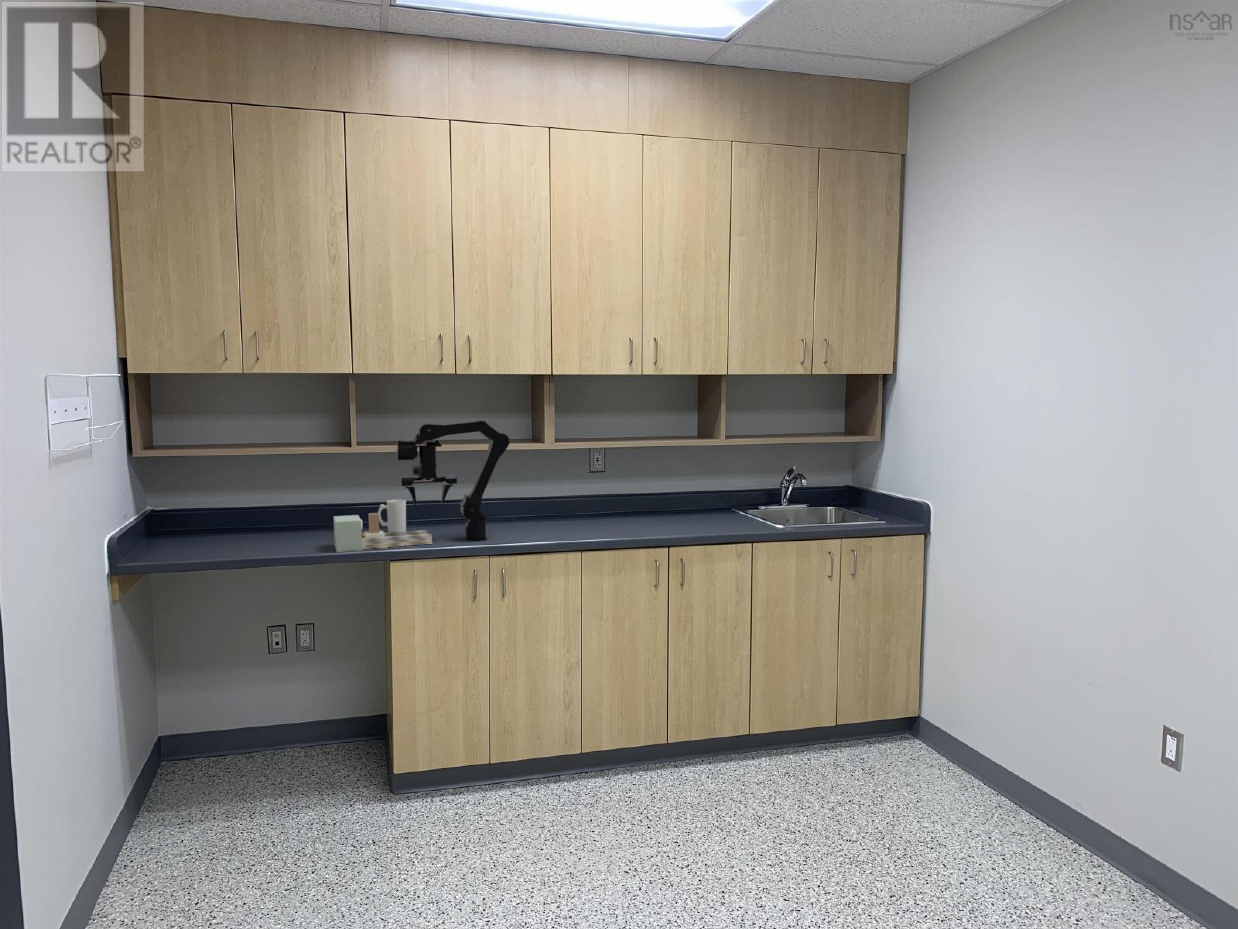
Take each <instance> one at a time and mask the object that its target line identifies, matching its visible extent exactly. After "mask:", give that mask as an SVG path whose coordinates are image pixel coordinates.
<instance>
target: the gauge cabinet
mask: <svg viewBox="0 0 1238 929" xmlns="http://www.w3.org/2000/svg"><path fill="white" fill-rule="evenodd" d="M362 531H363V519H361V518H360V515H359V514H352V515H337V516H336V515H335V516H333V533H334V534H333V539H334V540H333V541H334V542H333V543H334V548H335V551H336V553H345V552H358V551H361V552H362V551H363V550H362V533H363V532H362Z"/></svg>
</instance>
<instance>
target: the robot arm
mask: <svg viewBox="0 0 1238 929" xmlns="http://www.w3.org/2000/svg"><path fill="white" fill-rule="evenodd" d="M476 432H479V433H481V434H482V435H483V436H485V438H487V439H488V440H489V443H488V447H487V455H486V457H485V458H484V462H483V464H482V465H481V468H480V471H479V473H478V476H477V477H476V480H475V482H474V485H473V487H472V489H471V491H470V493H468V495H467V494H466V493H464V494H463V497H462V500H461V502H460V503H459V505H460V509H459V510H460V512H461V514H462V515H463V516H464V517H465V518H466V520H467V521H465V526H464V538H465V540H467V541H469V542H473V541H474V542H475V541H484V540H485V541H487V540H488V538H487V536H486V535H487V534H486V533H487V530H486V528H487V527H486V519H487V518H486V516H485V515H484V514H483V513H482V512H481V507H482V502H483V501H482V500H483V497H484V496H483V495H484V493H485V490H486V489H487V486H488V484H489V483H490V482H489V481H490V480H491V477H492V475H493V472H494V470H495V468H496V466H497V463H498V461H499V460H500V458H501V457H502V455H503V454H504V453H505V451H506V450H507V449H508V447H509V445H510V442H511V441H510V438H509V436H508V435H507V434H506V433H503V432H500V431H498V430H496V429H495V428H493V427H492V426H491V425H490V424H488V423H487V422H486V421H485V420H483V419H478V420H472V421H464V422H454V423H446V424H444V423H443V424H442V423H430V422H424V423H422V424H421V425H420V426H419V427H418V429H417V434H416V436H415V437H414V438H413V440H406V441H405V440H397V444H396V460H397V462H399V461H400V462H401V461H403V462H404V461H415V459H416V458H418V459H419V461H418V462H419V463H418V464H419V465H413V466H412V467H411V468H412V471H411V472H412V475H406V476H405V475H403V476H402V475H401V476H400V477H399V485H400V486H401V487H404V488H405V489H407V490H408V492H409V494H410V497H411V499H412V502H413V504H414V507H416V506H417V499H416V498H417V497H416V490H415V489H416V488H415V486H414V484H426V483H428V484H429V483H430V484H431V483H441V495H440V496H441V499H440V500H441V502H440V503H441V505H444V503H445V500H446V497H447V494H448V492H449V491H450V488H451V487H454V485H455V484H458V479H457V477H458V476H456V475H455V474H452V473H447V474H442V476H437V474H438V473H437V471H438V470H437V468H438V467H437V447H439V448H440V447H442V446H443V445H442V444H441V443H440V442H439V440H438V439H440V438H442V437H445V436H452V435H460V434H468V433H469V434H470V433H476ZM433 440H434V441H433ZM424 442H425V444H423V443H424ZM415 476H417V477H415Z"/></svg>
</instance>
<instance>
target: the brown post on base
mask: <svg viewBox="0 0 1238 929" xmlns="http://www.w3.org/2000/svg"><path fill="white" fill-rule="evenodd" d="M363 533H365V535H366V538H377V537H384V533H385V532H384V531H383V530H380V521H379V514H378V512H371V513H368V531H363Z"/></svg>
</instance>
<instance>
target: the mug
mask: <svg viewBox="0 0 1238 929" xmlns="http://www.w3.org/2000/svg"><path fill="white" fill-rule="evenodd" d="M406 503H407V500H405V499H389V500H387V501H386V505H385V504H382V503H381V504H380V506H379V507H378V511H377V513H378V514H379V524H380V526H381V527H386V528H387V532H402V531H407V504H406ZM384 509H386V512H387V513H386V514H387V521H384V520H383V519H382V515H381V513H382V510H384Z"/></svg>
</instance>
